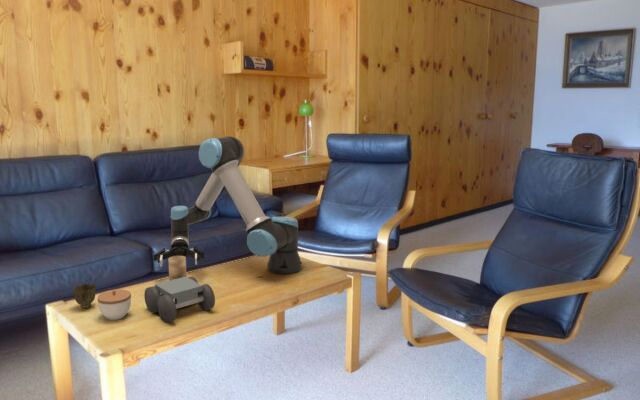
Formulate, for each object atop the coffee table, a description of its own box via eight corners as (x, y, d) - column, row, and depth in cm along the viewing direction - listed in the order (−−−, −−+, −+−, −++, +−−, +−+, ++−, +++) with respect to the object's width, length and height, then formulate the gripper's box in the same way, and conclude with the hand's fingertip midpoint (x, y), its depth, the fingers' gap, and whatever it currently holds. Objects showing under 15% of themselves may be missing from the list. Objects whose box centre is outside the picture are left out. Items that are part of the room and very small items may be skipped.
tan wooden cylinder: (181, 288, 207) (180, 254, 204) (190, 293, 203) (188, 258, 200) (166, 292, 203) (165, 257, 200) (174, 297, 198) (173, 262, 195)
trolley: (188, 296, 200) (187, 272, 198) (215, 311, 186) (214, 286, 184) (145, 308, 188) (143, 283, 186) (170, 326, 175) (169, 299, 173)
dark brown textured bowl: (101, 305, 191) (100, 284, 189) (87, 313, 184) (85, 291, 182) (84, 302, 193) (83, 281, 191) (69, 310, 186) (67, 288, 184)
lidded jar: (95, 314, 183) (93, 289, 181) (126, 307, 189) (124, 282, 187) (104, 325, 174) (102, 299, 172) (136, 317, 181) (134, 292, 179)
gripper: (209, 253, 234) (210, 269, 213) (150, 256, 228) (146, 273, 208) (208, 237, 232) (210, 251, 212) (149, 240, 226) (145, 255, 206)
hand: (178, 262), depth 210 cm, fingers open, 13 cm apart
